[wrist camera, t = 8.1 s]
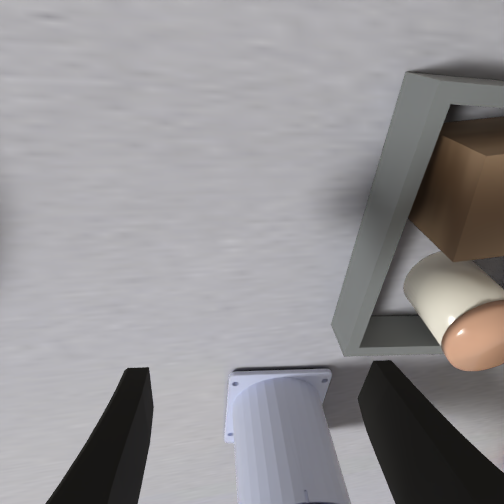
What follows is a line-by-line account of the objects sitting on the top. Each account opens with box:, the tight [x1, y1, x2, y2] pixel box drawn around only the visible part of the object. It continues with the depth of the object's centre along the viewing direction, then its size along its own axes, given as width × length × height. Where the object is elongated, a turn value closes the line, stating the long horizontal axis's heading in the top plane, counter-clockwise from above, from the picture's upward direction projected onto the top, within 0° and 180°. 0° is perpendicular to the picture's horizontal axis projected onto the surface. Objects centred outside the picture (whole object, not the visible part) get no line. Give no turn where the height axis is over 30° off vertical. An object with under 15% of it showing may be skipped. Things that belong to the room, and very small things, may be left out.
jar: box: [403, 251, 504, 371], centre depth 21 cm, size 5×5×6 cm
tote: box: [331, 72, 504, 357], centre depth 20 cm, size 16×13×3 cm
